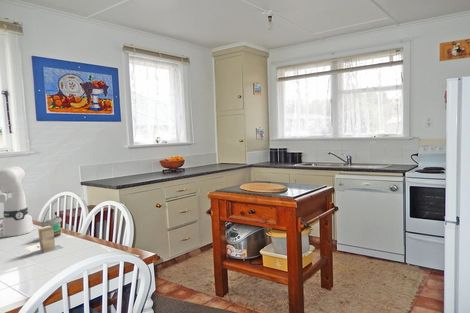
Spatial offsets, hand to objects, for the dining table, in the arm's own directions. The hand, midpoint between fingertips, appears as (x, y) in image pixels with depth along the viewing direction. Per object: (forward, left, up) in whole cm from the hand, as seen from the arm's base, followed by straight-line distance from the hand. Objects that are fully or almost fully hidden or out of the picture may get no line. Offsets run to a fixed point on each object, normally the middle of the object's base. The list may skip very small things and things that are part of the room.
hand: (12, 193), depth 162 cm
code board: (+4, +10, -29) cm, 31 cm away
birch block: (+9, +10, -29) cm, 32 cm away
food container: (-12, +21, -29) cm, 38 cm away
